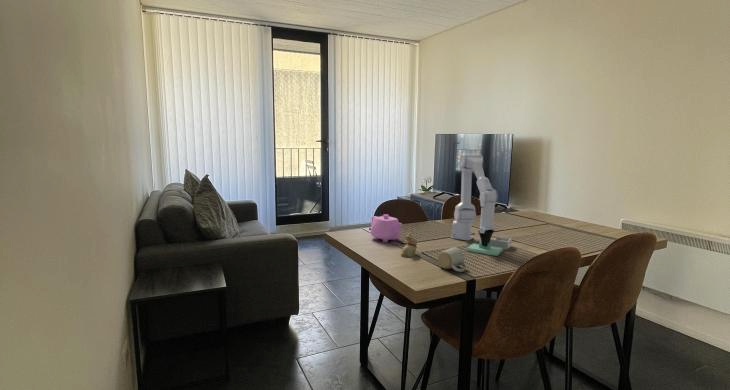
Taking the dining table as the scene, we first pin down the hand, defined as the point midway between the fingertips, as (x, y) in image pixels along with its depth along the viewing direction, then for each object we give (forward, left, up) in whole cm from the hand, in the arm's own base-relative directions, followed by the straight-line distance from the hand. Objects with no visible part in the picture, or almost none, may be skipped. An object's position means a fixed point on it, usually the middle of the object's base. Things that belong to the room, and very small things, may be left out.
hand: (485, 245), depth 180 cm
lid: (0, 0, -2) cm, 3 cm away
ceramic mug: (-3, -32, -3) cm, 32 cm away
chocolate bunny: (-26, -26, -3) cm, 37 cm away
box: (+2, +12, -3) cm, 12 cm away
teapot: (-47, -10, -3) cm, 48 cm away
